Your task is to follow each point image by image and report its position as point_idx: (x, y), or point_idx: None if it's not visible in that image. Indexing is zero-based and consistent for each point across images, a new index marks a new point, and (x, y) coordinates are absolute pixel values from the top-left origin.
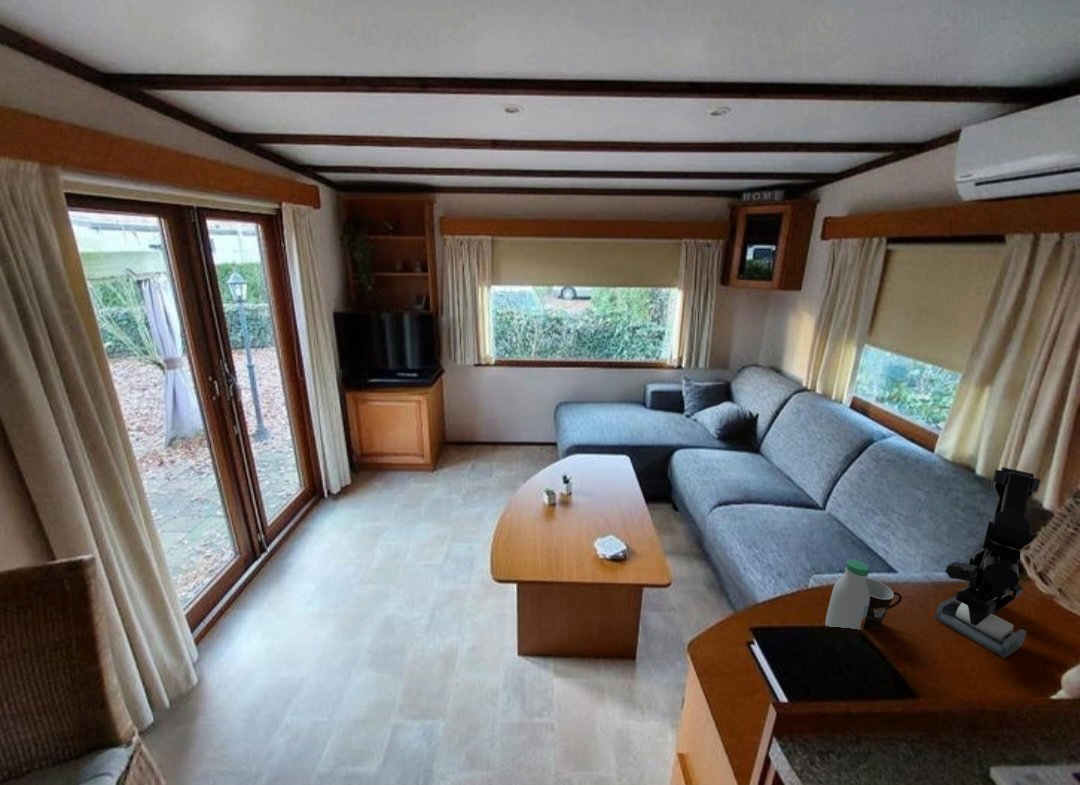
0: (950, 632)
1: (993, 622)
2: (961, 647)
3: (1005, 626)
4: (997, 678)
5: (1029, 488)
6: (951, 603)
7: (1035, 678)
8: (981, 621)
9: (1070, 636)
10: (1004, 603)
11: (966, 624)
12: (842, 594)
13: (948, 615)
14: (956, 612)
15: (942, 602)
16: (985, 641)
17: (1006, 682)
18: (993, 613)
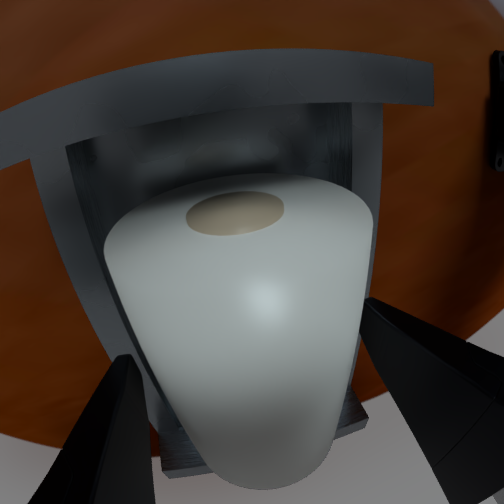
0: (36, 247)
1: (221, 461)
2: (11, 334)
3: (244, 486)
4: (40, 428)
5: None
6: (220, 109)
7: None
8: (147, 437)
9: (493, 316)
10: (442, 481)
11: None
12: None
13: (62, 195)
14: (104, 245)
15: (55, 94)
16: None
17: (57, 438)
18: (381, 371)
